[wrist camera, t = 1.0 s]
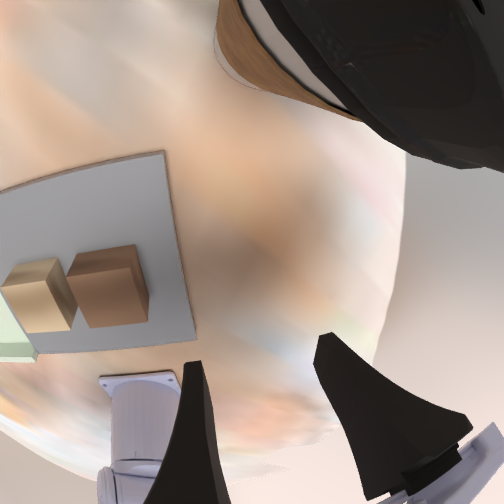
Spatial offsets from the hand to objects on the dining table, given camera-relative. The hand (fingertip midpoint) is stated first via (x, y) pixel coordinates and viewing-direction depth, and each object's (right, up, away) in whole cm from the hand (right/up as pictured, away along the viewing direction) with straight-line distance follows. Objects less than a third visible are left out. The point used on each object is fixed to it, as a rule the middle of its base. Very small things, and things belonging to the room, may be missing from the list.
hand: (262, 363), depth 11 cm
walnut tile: (-9, +3, +5) cm, 11 cm away
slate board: (-12, +3, +6) cm, 14 cm away
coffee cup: (0, +16, +2) cm, 16 cm away
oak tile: (-15, +2, +4) cm, 15 cm away
